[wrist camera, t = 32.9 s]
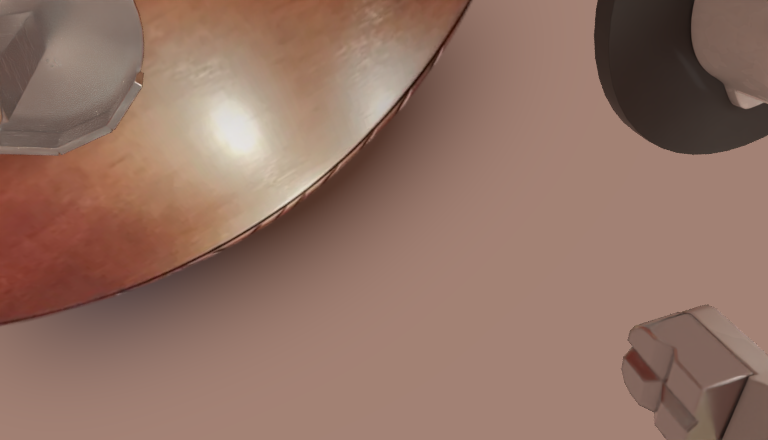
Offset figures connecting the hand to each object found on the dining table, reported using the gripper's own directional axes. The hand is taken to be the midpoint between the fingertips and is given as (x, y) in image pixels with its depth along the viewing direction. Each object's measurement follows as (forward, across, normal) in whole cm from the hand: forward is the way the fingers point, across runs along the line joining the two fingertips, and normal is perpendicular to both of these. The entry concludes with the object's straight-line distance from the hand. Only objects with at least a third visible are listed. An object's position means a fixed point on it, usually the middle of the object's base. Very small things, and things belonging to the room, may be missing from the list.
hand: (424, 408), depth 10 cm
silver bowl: (+29, +12, 0) cm, 31 cm away
